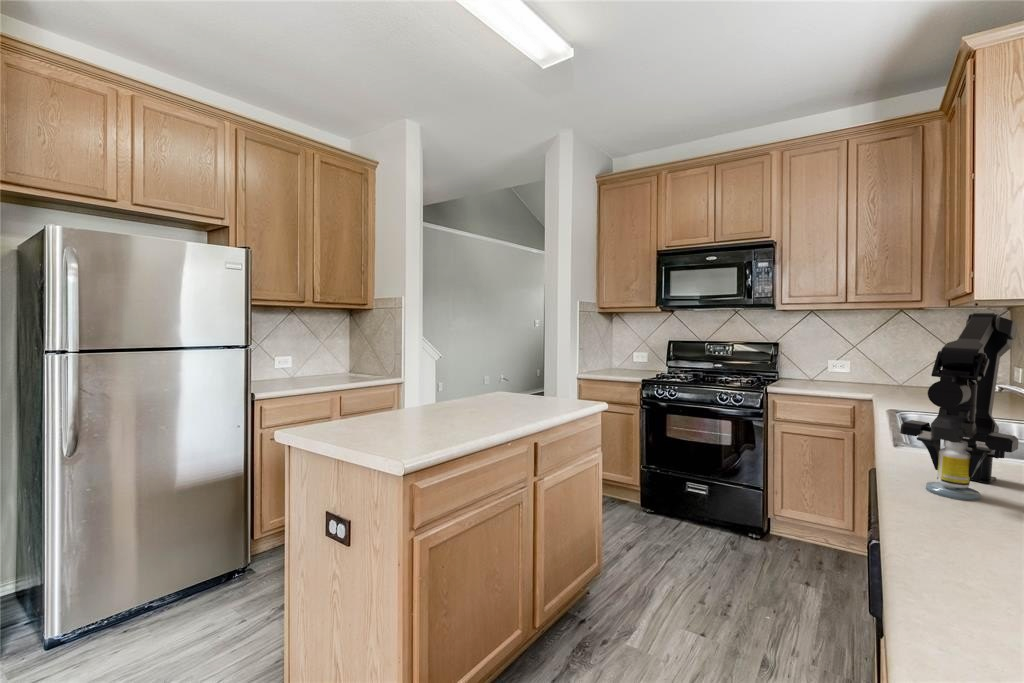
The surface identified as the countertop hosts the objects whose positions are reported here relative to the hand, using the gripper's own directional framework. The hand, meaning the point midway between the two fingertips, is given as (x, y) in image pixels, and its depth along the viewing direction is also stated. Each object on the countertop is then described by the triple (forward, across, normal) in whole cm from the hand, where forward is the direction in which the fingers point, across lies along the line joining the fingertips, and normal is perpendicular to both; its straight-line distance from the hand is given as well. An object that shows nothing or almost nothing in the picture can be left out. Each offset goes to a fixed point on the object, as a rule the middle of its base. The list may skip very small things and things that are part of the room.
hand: (953, 473), depth 110 cm
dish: (+4, 0, 0) cm, 4 cm away
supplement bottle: (+3, 0, 0) cm, 3 cm away
